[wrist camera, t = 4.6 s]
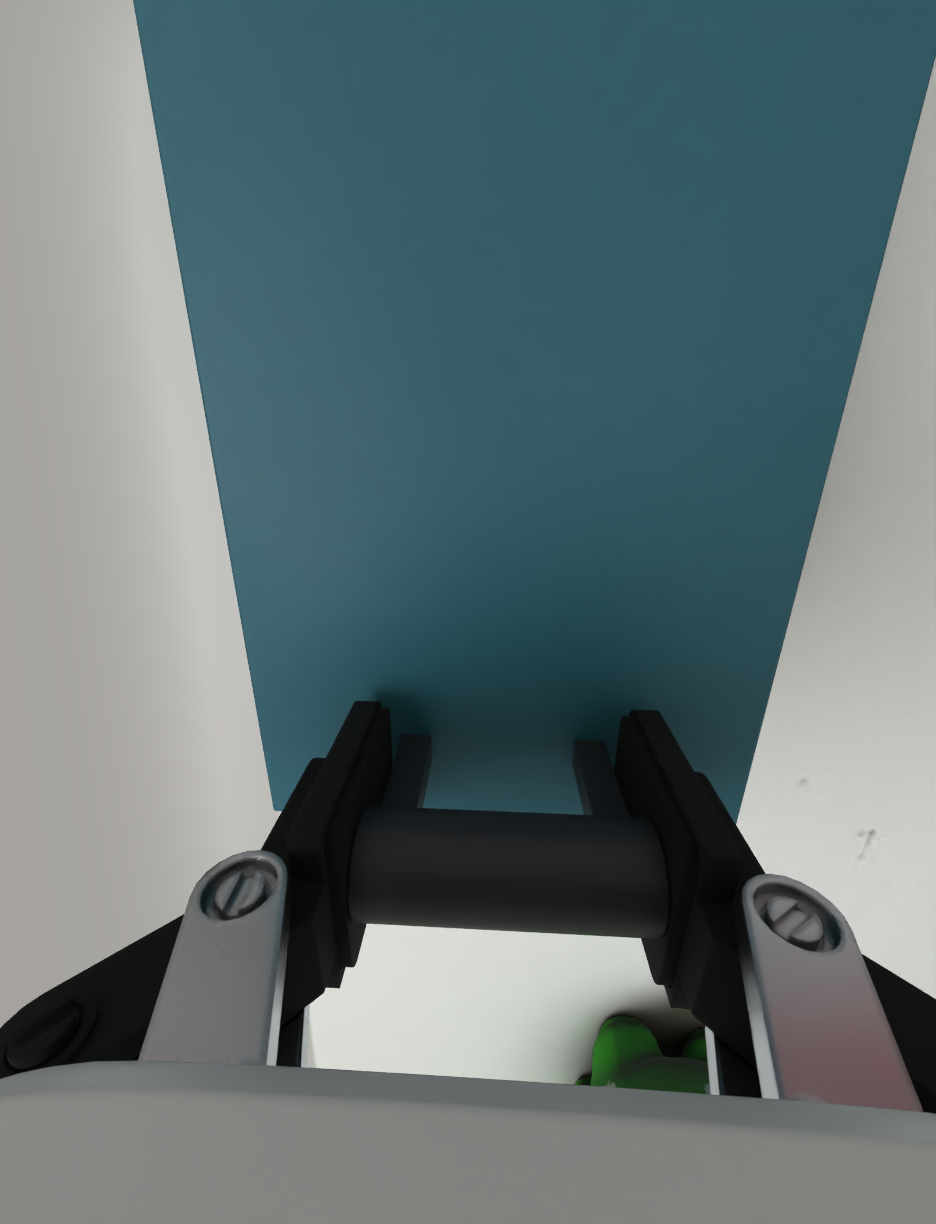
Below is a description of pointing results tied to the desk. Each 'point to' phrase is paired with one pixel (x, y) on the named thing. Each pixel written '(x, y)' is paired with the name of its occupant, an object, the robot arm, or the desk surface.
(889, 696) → the desk surface
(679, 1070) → the piggy bank
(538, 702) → the lid
